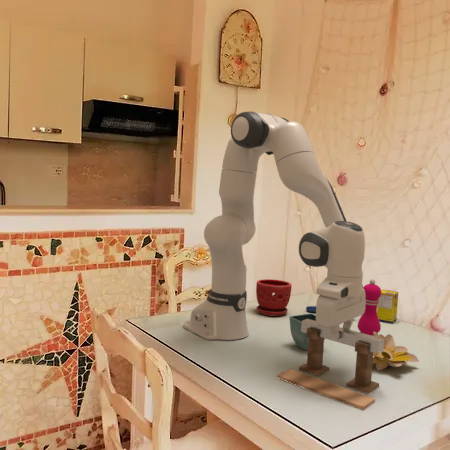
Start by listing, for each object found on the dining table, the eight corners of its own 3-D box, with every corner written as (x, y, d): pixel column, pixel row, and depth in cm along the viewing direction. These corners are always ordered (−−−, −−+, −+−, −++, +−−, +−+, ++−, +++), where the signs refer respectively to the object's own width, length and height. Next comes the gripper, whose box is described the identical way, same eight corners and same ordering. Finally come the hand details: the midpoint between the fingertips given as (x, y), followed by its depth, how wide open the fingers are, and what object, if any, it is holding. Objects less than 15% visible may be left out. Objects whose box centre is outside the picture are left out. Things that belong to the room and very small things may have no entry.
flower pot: (304, 353, 146) (305, 324, 145) (287, 344, 153) (288, 315, 152) (327, 350, 150) (329, 321, 149) (309, 340, 158) (311, 313, 157)
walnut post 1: (298, 369, 134) (301, 327, 132) (310, 363, 138) (313, 322, 137) (318, 376, 130) (321, 332, 128) (329, 370, 134) (332, 327, 133)
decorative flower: (391, 375, 128) (388, 336, 129) (356, 370, 137) (354, 333, 138) (425, 368, 137) (422, 331, 138) (390, 364, 146) (388, 329, 147)
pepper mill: (380, 344, 157) (385, 282, 154) (357, 342, 158) (361, 280, 156) (378, 337, 164) (383, 278, 161) (355, 335, 165) (360, 276, 163)
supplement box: (396, 320, 185) (398, 291, 183) (392, 324, 179) (394, 294, 178) (380, 317, 188) (382, 288, 186) (376, 320, 183) (378, 291, 181)
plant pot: (291, 318, 180) (293, 286, 179) (255, 317, 181) (257, 285, 179) (287, 308, 193) (289, 278, 192) (254, 307, 194) (255, 277, 192)
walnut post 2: (346, 386, 124) (349, 340, 123) (357, 379, 129) (360, 335, 128) (368, 393, 121) (372, 347, 119) (378, 386, 125) (382, 341, 124)
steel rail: (301, 331, 134) (301, 320, 134) (306, 329, 137) (307, 318, 136) (378, 353, 120) (379, 341, 120) (383, 350, 122) (384, 339, 122)
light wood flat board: (276, 377, 128) (276, 374, 127) (289, 371, 132) (289, 368, 132) (363, 410, 112) (363, 406, 112) (374, 401, 116) (375, 398, 116)
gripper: (351, 277, 137) (348, 326, 138) (312, 288, 121) (309, 343, 123) (373, 281, 132) (369, 331, 134) (335, 293, 117) (331, 349, 119)
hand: (340, 337), depth 128 cm, fingers open, 4 cm apart
